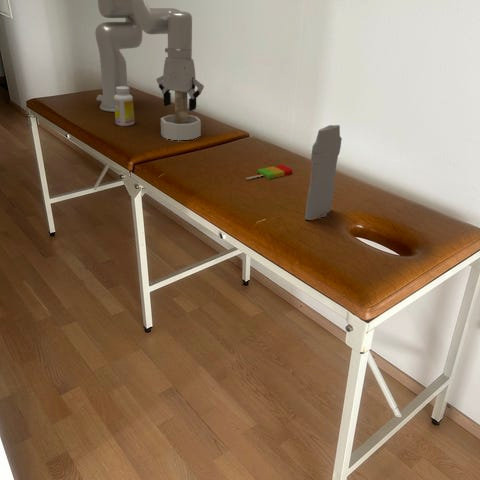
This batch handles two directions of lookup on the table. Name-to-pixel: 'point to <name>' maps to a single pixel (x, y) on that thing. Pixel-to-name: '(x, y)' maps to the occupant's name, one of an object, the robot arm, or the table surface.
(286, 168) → the popsicle
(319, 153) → the gray upright slab
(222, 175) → the table surface
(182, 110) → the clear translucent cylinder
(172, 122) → the grey hollow ring
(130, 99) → the supplement bottle
